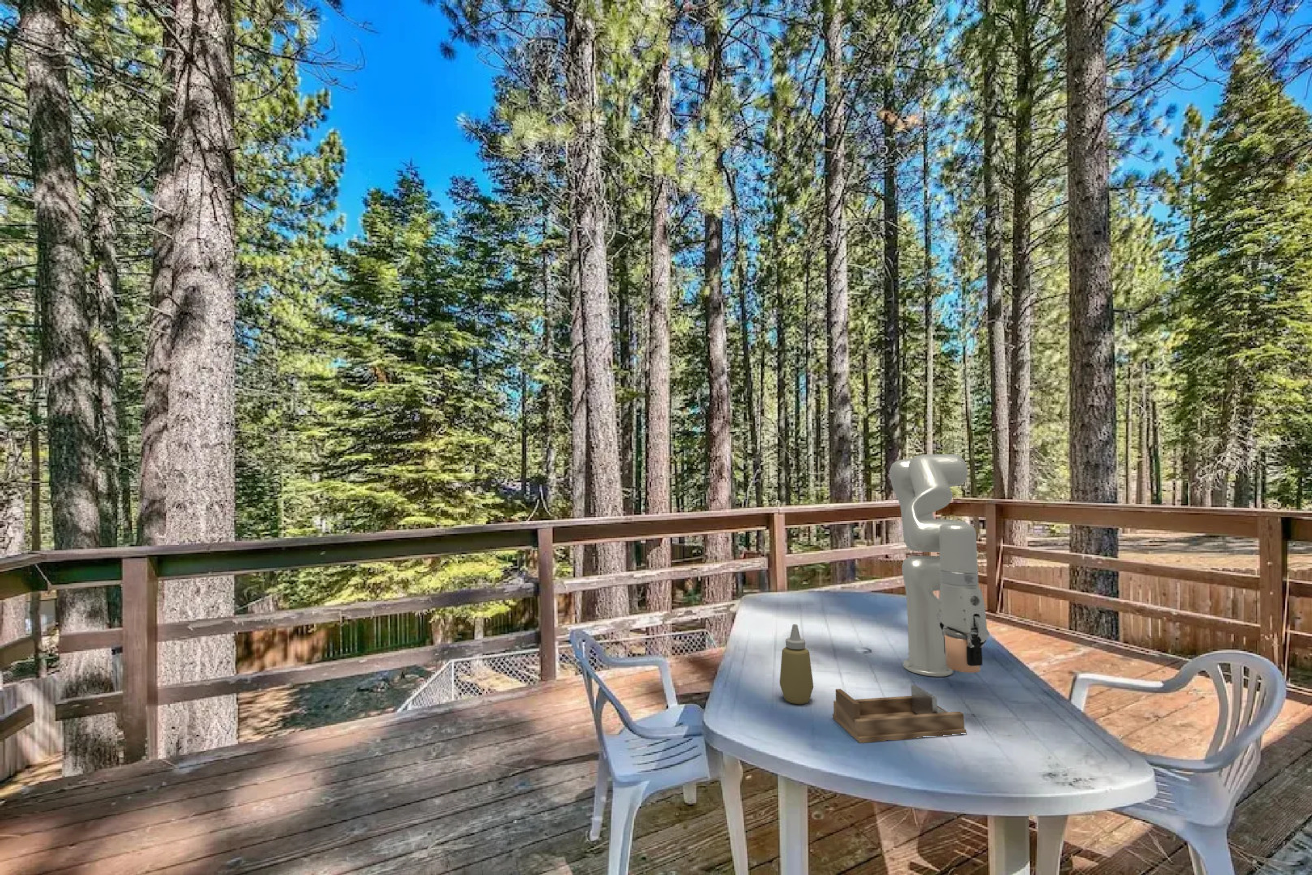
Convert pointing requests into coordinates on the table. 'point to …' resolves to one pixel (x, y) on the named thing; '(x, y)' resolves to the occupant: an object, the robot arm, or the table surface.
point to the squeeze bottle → (796, 670)
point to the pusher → (923, 702)
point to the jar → (957, 651)
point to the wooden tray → (891, 719)
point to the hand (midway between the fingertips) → (962, 659)
